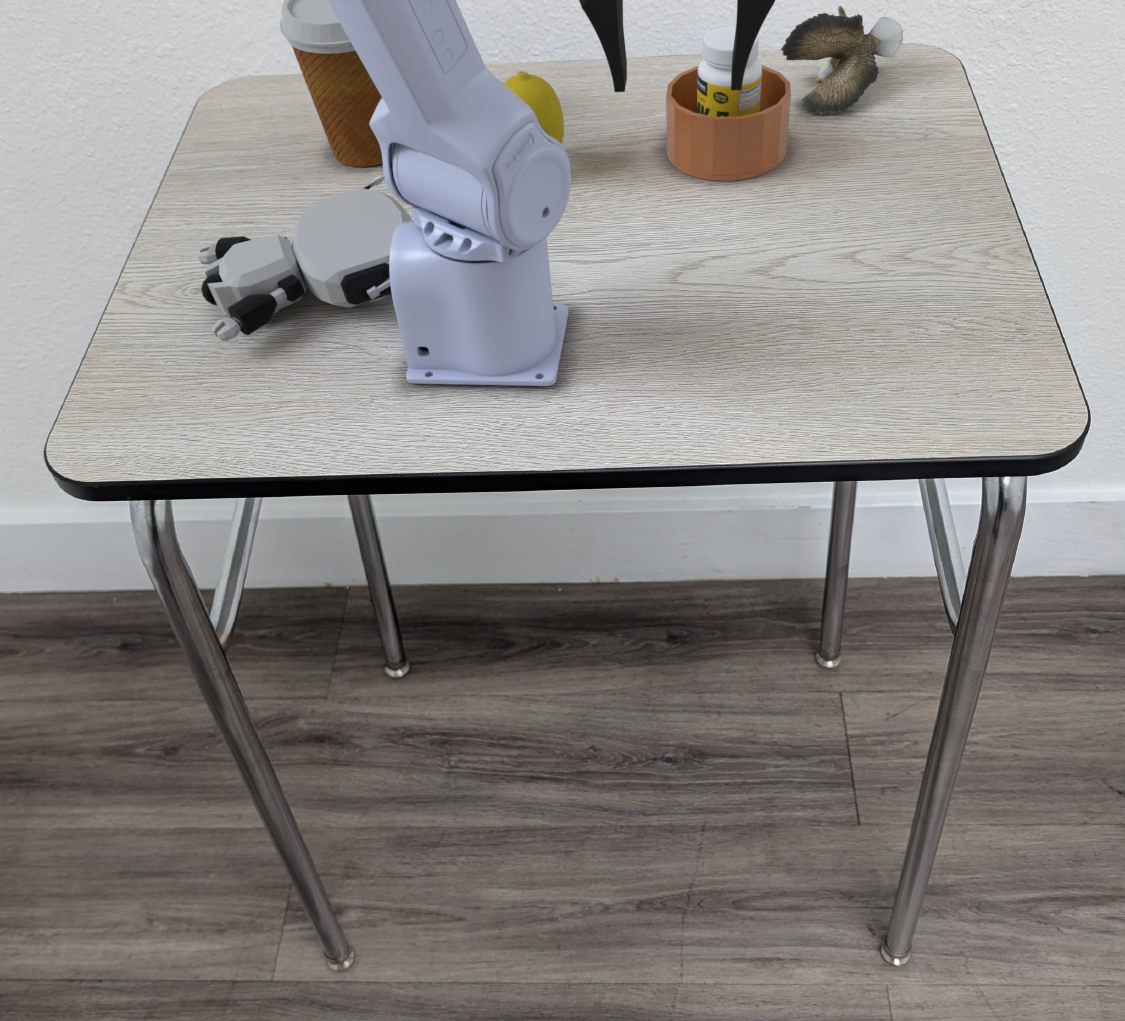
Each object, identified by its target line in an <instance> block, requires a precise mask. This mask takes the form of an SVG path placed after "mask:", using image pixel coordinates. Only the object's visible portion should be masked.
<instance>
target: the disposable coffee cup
mask: <svg viewBox="0 0 1125 1021" xmlns="http://www.w3.org/2000/svg"><path fill="white" fill-rule="evenodd" d="M279 30H280V32H281V34H282V36H283V37H284V38H285V39H286V41H287V43H288V44H289V45H291V48H292V50H293V53H294V55H295V59H296V61H297V63H298V66H299V69H300V71H301V73H302V76H303V80H304V82H305V84H306V87H307V90H308V92H309V95H310V97H311V100H312V103H313V105H314V108H315V109H316V110H315V111H316V112H317V115H318V118H319V120H320V124H321V126H322V128H323V131H324V133H325V136H326V138H327V141H328V144H329V147H330V149H331V152H332V155H333V158H334V159H335V160H336V161H337V162H339V163H340V164H344V165H346V166H351V167H361V168H362V167H373V166H379V165H383V161H382V152H381V148H380V145H379V142H378V140H377V138H376V136H375V134H374V132H373V131H372V129H371V127H370V125H369V123H370V120H371V118H372V116H373V114H374V111H375V109H376V107H377V105H378V103H379V101H380V100H381V98H382V96H381V95H380V93H379V91H378V89H377V88H376V86H375V84H374V82H373V80H372V79H371V77H370V75H369V73H368V72H367V70H366V68H365V66H364V64H363V63H362V61H361V59H360V57H359V56H358V54H357V52H356V50H355V48H354V47H353V45H352V43H351V41H350V40H349V38H348V36H347V34H346V33H345V31H344V29H343V27H342V25H341V24H340V22H339V20H338V18H337V17H336V15H335V13H334V11H333V9H332V8H331V6H330V4H329V2H328V1H327V0H284V1H283V3H282V7H281V20H280V21H279Z"/></svg>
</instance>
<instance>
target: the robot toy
mask: <svg viewBox="0 0 1125 1021" xmlns="http://www.w3.org/2000/svg"><path fill="white" fill-rule="evenodd" d="M384 180H385V176H384V175H378V176H377V177H375V178H373V179H372V181H370V182H369V183H367V184H365V185H364V186H362V187H360V188H356V189H353V190H350V191H347V192H344V193H340V194H338V195H334V196H330V197H328V198H325V199H321V200H317V201H315V202H312V203H311V204H310V205H309V206H308V207H306V209H305V210H304V211H303V212H302V213H301V214H300V215H299V217H298V219H297V221H296V222H295V223H294V226H293V228H292V234H291V241H290V239H288V237H287V236H281V235H279V234H275V235H274V234H273V235H269V236H262V237H258V238H253V239H251V238H248V237H246V236H244V235H242V236H240V235H239V236H227V237H220V238H219V239H218V240H217V241H216V243H214V242H212V243H207V244H204V245H203V246H202V247H201V248H200V250H199V252H198V253H197V259H198V261H199V262H200V263H201V264H202V265H207V267H206V269H205V271H204V273H205V276H206V278H205V279H204V280H203V281H202V285H201V288H200V289H201V290H200V291H201V293H202V297H203V298H204V300H205V301H206V302H207V303H209V304H210V305H212V306H217V307H218V310H219V312H221V313H222V314H223V315H225V316H229V317H222V318H219V319H218V320H217V321H215V323H213V324H212V326H211V331H212V333H213V335H214V336H215V337H218V339H219V340H220V341H225V342H227V341H229V340H232V339H235V338H237V336H238V334H239V333H240V332H241V333H242V334H244V335H246V336H249V335H251V334H253V333H254V332H256V331H258V330H259V329H261V328H262V327H263V326H265V325H266V324H268V323H270V321H271V319H272V317H273V316H274V315H275V314H277V313H278V312H280V310H281V309H283V308H286V307H288V306H290V305H292V304H295V303H297V302H298V301H300V300H302V299H303V296H305V295H306V291H307V288H308V289H309V291H310V292H311V293H312V295H314V296H315V297H316V298H317V299H319V301H322V302H325V303H327V304H330V305H333V306H339V307H345V308H353V307H357V306H359V305H362V304H366V303H373V302H378V301H380V300H383V299H384V298H386V297H388V296H390V295H392V293H391V286H390V271H389V259H390V248H391V242H392V238H393V234H394V231H395V229H396V227H397V226H398V225H399V224H400V223H403V222H408V221H412V218H411V215H410V214H409V213H408V211H407V210H406V209H405V208H404V207H403V206H402V204H400V202H398V200H396V199H394V198H393V197H392V196H390V195H389V194H387V193H384V192H381V191H379V190H375V189H371V188H373V187H375V186H379V185H380V184H382V183H383V182H384ZM306 286H307V287H306Z"/></svg>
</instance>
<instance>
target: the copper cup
mask: <svg viewBox="0 0 1125 1021" xmlns="http://www.w3.org/2000/svg"><path fill="white" fill-rule="evenodd" d="M698 67H699V65H697V66H693V67H691V68H689V69H687V70H684V71H682V72H681V73H678V74H677V75H675V77H674V78H673V79H671V81H670V82H669V83H668V84H667V86H666V96H665V99H666V100H665V109H666V111H665V112H666V113H665V114H666V115H665V116H666V127H665V128H666V154H667V157H668V160H669V162H670V164H672V165H673V166H674V167H675V168H676V169H677V170H678V171H680V172H682V173H684V174H686V175H688V176H691V177H693V178H697V179H701V180H707V181H713V182H714V181H715V182H733V181H742V180H748V179H752V178H755V177H758V176H762V175H765V174H766V173H769V172H770V171H772V170H774V169H776V167H778V166H779V164H781V162H782V161H783V160H784V158H785V156H786V152H787V148H788V135H789V122H790V110H791V99H792V98H791V97H792V89H791V87H792V86H791V82H790V81H789V80H788V78H786V76H784V74H782V72H780V71H778V70H775V69H773V68H770V67H769V66H767V65H764V64H761V67H762V79H761V95H760V112H757V113H753V114H748V115H743V116H730V117H715V116H709V115H704V114H699V113H697V74H698Z"/></svg>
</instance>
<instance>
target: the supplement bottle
mask: <svg viewBox="0 0 1125 1021" xmlns="http://www.w3.org/2000/svg"><path fill="white" fill-rule="evenodd" d="M735 31H736V26H723V27H718V28H715V29H712V30H710V31H708V32H707V33H706V34H705V35H704V37H703V40H702V41H703V42H702V52H701V53H702V60H701V61H700V63H699V64H698V66H699V67H698V74H697V113H699V114H704V115H709V116H715V117H730V116H743V115H748V114H753V113H757V112H760V95H761V79H762V67H761V65H762V64H761V61H759V60H758V57H759V35H757V37H756V39H755V42H754V44H753V47H752V50H751V53H750V55H749V58H748V62H747V65H746V69H745V73H744V77H743V83H742V90H731V71H732V55H733V47H734V39H735Z"/></svg>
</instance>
